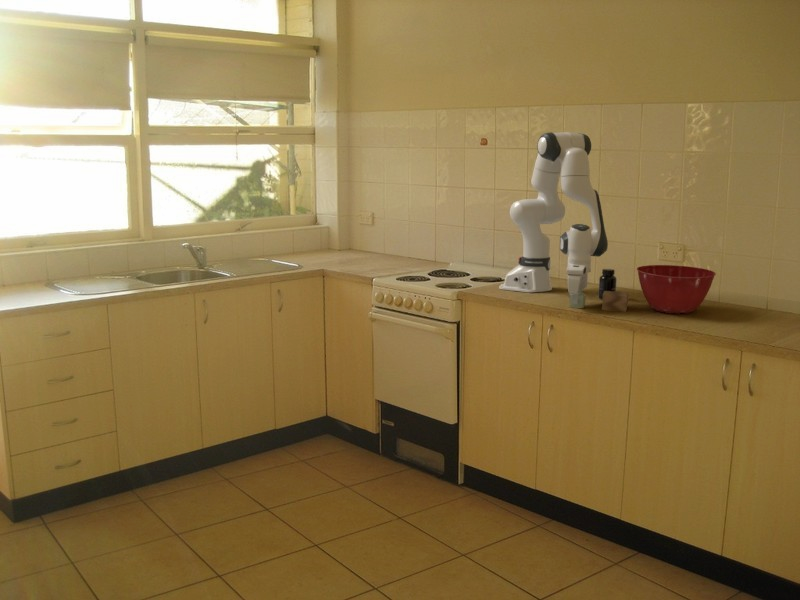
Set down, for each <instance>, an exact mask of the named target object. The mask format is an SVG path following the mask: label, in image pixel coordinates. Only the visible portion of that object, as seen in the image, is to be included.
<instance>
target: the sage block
mask: <svg viewBox="0 0 800 600" xmlns="http://www.w3.org/2000/svg"><path fill="white" fill-rule="evenodd" d="M578 299H579V301H578V304H573V296H572V295H571V294H569V306H568V307H569V308H572V307H574V308H575V309H583V308H584V307H585V305H586V293H584V292H583V293H579V295H578Z"/></svg>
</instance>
